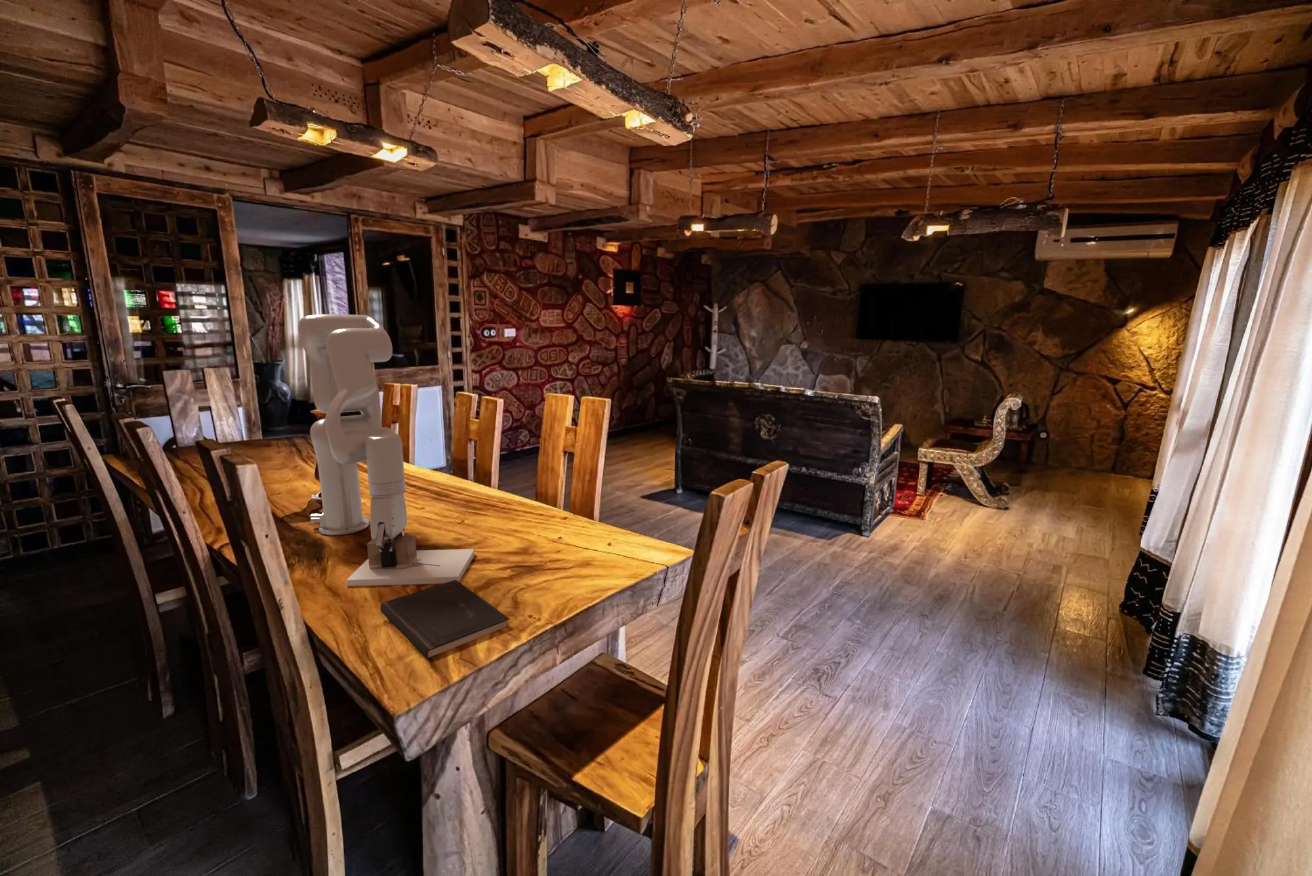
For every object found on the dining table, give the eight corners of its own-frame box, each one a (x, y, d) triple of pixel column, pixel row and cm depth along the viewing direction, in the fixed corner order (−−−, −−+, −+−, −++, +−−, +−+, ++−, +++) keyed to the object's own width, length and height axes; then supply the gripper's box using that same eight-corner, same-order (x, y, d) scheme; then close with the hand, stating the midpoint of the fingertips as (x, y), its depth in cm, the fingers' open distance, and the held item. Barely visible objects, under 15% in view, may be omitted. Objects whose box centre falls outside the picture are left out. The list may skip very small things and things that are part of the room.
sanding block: (369, 568, 131) (366, 543, 130) (378, 559, 136) (376, 535, 135) (409, 567, 132) (407, 543, 131) (416, 559, 137) (415, 535, 136)
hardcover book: (456, 589, 126) (456, 579, 126) (509, 629, 110) (509, 618, 109) (380, 613, 115) (379, 603, 115) (427, 662, 99) (426, 650, 99)
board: (347, 586, 126) (346, 579, 126) (375, 557, 142) (375, 551, 141) (458, 582, 128) (457, 576, 128) (474, 554, 144) (474, 548, 143)
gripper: (385, 477, 138) (391, 548, 142) (353, 498, 122) (362, 578, 125) (416, 477, 139) (422, 547, 143) (390, 498, 122) (397, 577, 126)
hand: (394, 560), depth 134 cm, fingers closed on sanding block, 5 cm apart
